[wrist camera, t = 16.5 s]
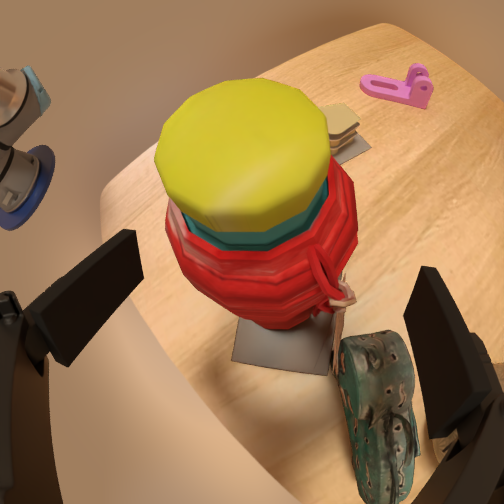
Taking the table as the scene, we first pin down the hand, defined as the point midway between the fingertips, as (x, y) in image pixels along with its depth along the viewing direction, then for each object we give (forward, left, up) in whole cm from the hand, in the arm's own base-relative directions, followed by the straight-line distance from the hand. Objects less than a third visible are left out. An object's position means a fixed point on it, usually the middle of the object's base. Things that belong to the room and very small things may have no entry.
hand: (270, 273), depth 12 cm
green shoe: (+11, -10, -24) cm, 28 cm away
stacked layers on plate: (+4, +27, -24) cm, 36 cm away
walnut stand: (+1, +1, -24) cm, 24 cm away
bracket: (+16, +42, -24) cm, 51 cm away
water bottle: (+1, +1, -18) cm, 18 cm away
